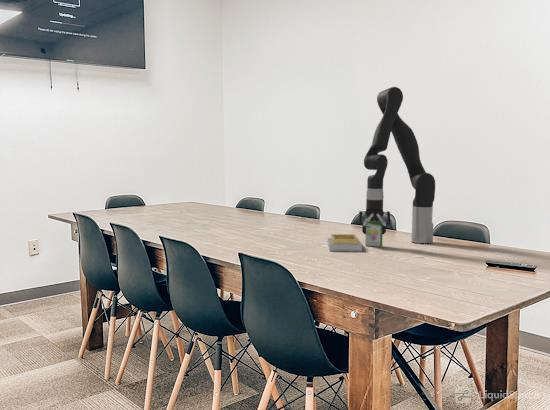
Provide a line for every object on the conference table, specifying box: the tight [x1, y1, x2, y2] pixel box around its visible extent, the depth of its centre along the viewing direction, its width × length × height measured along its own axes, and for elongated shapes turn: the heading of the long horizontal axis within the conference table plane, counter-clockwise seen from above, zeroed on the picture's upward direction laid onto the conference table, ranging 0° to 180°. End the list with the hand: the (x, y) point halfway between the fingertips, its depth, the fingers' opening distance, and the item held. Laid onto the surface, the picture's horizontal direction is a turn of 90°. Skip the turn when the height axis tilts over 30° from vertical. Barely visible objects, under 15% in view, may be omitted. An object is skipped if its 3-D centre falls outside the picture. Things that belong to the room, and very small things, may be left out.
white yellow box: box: [327, 233, 363, 252], centre depth 241 cm, size 14×16×6 cm
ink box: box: [365, 216, 384, 248], centre depth 245 cm, size 7×4×13 cm, turn 62°
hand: (373, 233), depth 245 cm, fingers closed on ink box, 8 cm apart
